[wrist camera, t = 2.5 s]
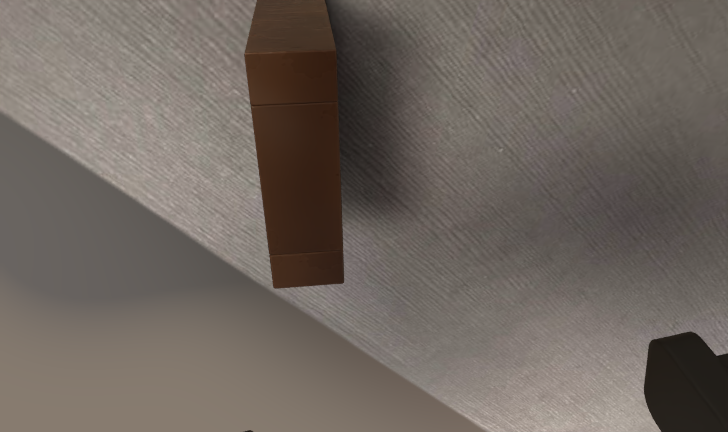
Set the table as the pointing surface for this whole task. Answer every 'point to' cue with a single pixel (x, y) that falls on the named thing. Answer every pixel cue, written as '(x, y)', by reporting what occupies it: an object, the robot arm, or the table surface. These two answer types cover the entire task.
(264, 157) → the brown wooden box
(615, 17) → the table surface
